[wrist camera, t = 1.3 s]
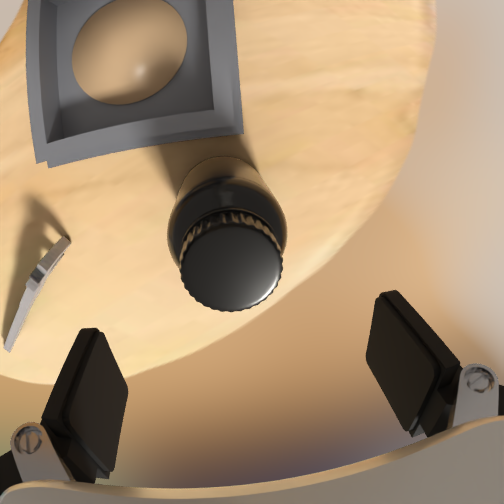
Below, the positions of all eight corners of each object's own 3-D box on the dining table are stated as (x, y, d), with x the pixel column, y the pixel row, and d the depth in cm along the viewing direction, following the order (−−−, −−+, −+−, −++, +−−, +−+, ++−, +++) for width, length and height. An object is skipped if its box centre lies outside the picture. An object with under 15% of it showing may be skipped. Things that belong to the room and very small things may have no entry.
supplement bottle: (163, 184, 24) (125, 245, 13) (239, 139, 23) (263, 163, 12) (208, 251, 27) (209, 347, 16) (279, 211, 26) (327, 287, 15)
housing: (43, -2, 15) (22, -13, 11) (228, -45, 16) (231, -67, 12) (53, 166, 22) (30, 176, 18) (242, 133, 23) (248, 136, 19)
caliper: (65, 232, 25) (34, 263, 19) (74, 239, 25) (44, 273, 19) (5, 345, 29) (-15, 378, 23) (11, 350, 29) (-8, 384, 24)
